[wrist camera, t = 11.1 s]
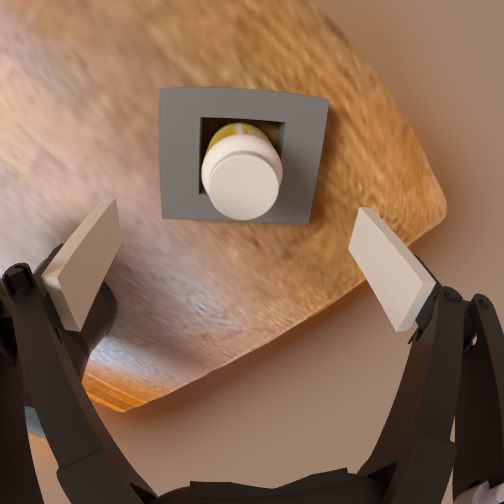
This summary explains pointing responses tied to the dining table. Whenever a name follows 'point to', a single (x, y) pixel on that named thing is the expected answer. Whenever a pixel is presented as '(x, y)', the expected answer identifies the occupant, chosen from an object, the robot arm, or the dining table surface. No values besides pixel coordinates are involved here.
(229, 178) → the pill bottle
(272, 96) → the bottle holder
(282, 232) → the dining table surface
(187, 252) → the dining table surface
